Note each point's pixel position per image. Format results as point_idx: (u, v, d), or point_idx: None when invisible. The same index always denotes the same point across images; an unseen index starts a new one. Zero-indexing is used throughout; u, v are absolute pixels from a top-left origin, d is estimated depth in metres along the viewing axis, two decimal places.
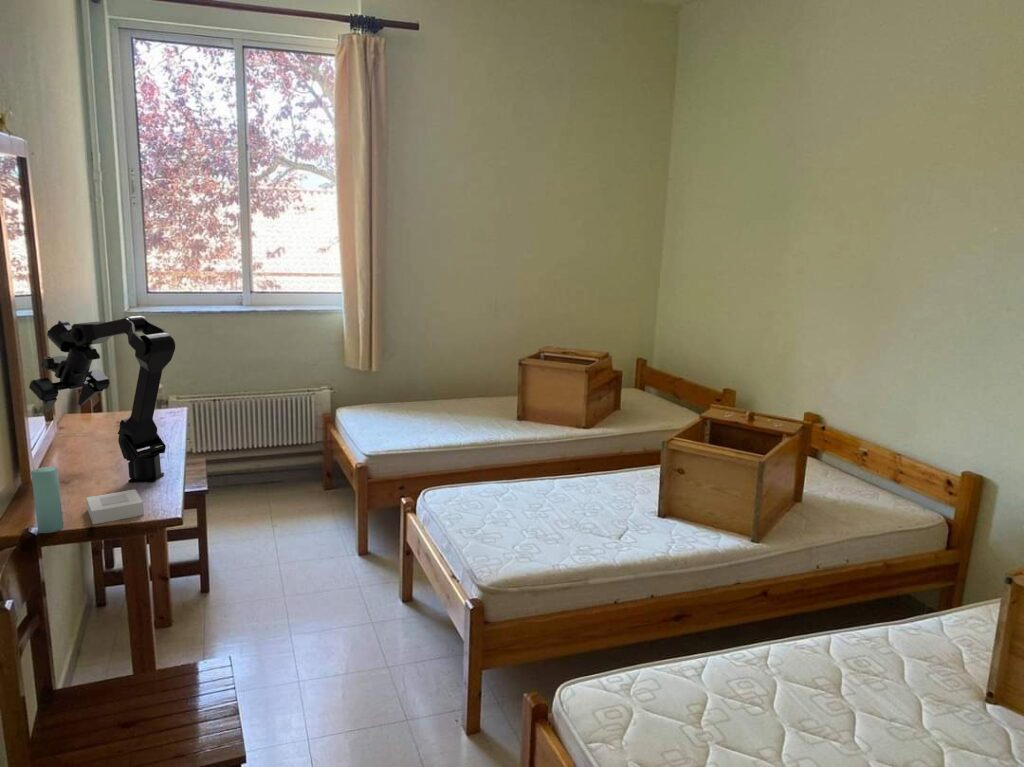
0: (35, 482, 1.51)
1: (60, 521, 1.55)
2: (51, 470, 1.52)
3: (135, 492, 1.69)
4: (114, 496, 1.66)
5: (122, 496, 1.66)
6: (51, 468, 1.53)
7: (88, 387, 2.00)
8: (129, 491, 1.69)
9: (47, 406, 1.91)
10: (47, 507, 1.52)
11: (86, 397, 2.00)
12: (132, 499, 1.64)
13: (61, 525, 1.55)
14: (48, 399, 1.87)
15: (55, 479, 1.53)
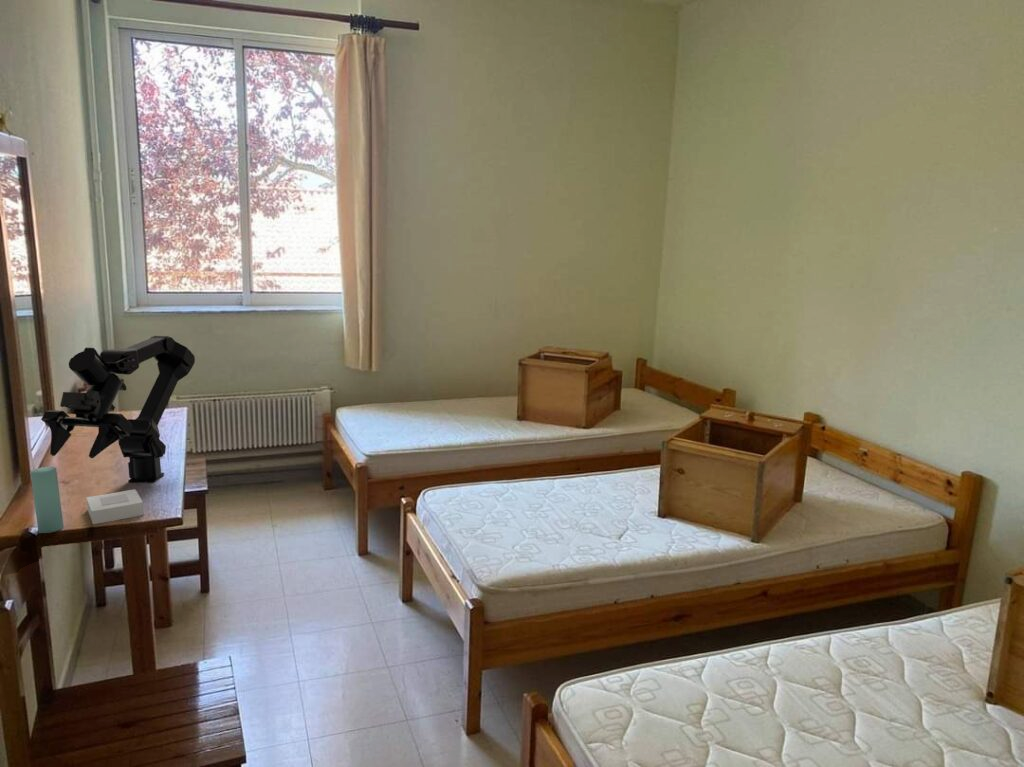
0: (34, 482, 1.51)
1: (60, 521, 1.55)
2: (50, 470, 1.52)
3: (135, 492, 1.69)
4: (114, 496, 1.66)
5: (122, 496, 1.66)
6: (51, 468, 1.53)
7: (64, 430, 1.65)
8: (129, 491, 1.69)
9: (103, 448, 1.62)
10: (46, 507, 1.52)
11: (63, 443, 1.64)
12: (132, 499, 1.64)
13: (61, 525, 1.55)
14: None
15: (54, 479, 1.53)
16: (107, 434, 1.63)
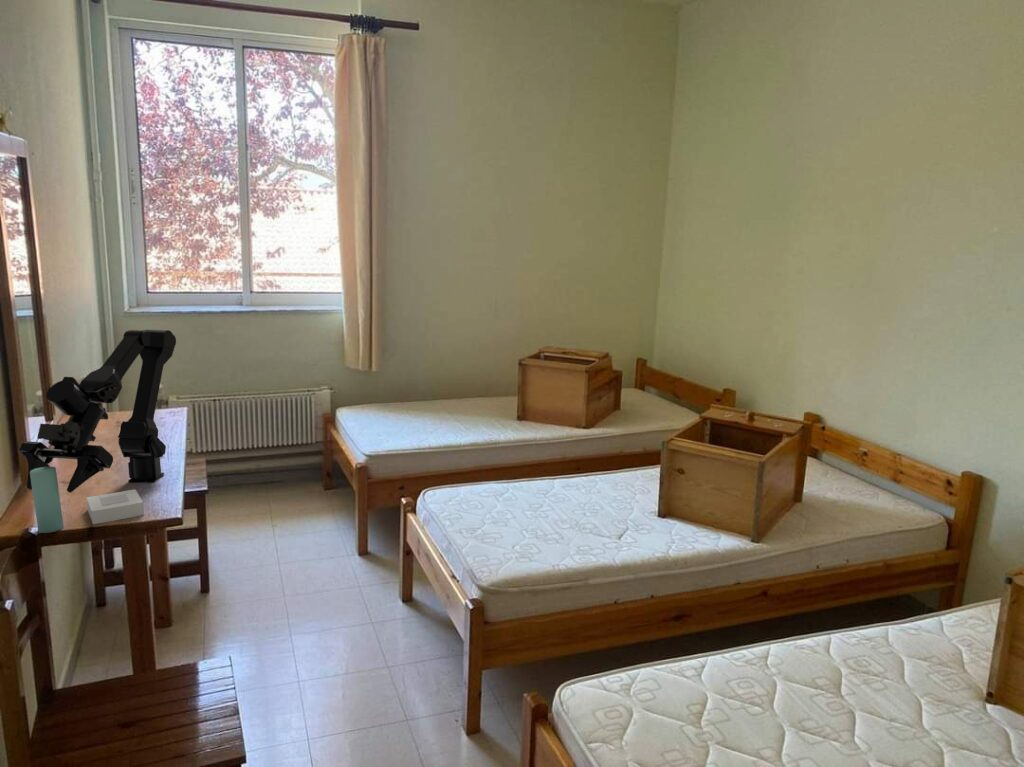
0: (34, 482, 1.51)
1: (60, 521, 1.55)
2: (50, 470, 1.52)
3: (135, 492, 1.69)
4: (114, 496, 1.66)
5: (122, 496, 1.66)
6: (50, 468, 1.53)
7: (42, 462, 1.58)
8: (129, 491, 1.69)
9: (82, 481, 1.56)
10: (46, 507, 1.52)
11: None
12: (132, 499, 1.64)
13: (61, 525, 1.55)
14: None
15: (54, 478, 1.53)
16: (86, 467, 1.57)
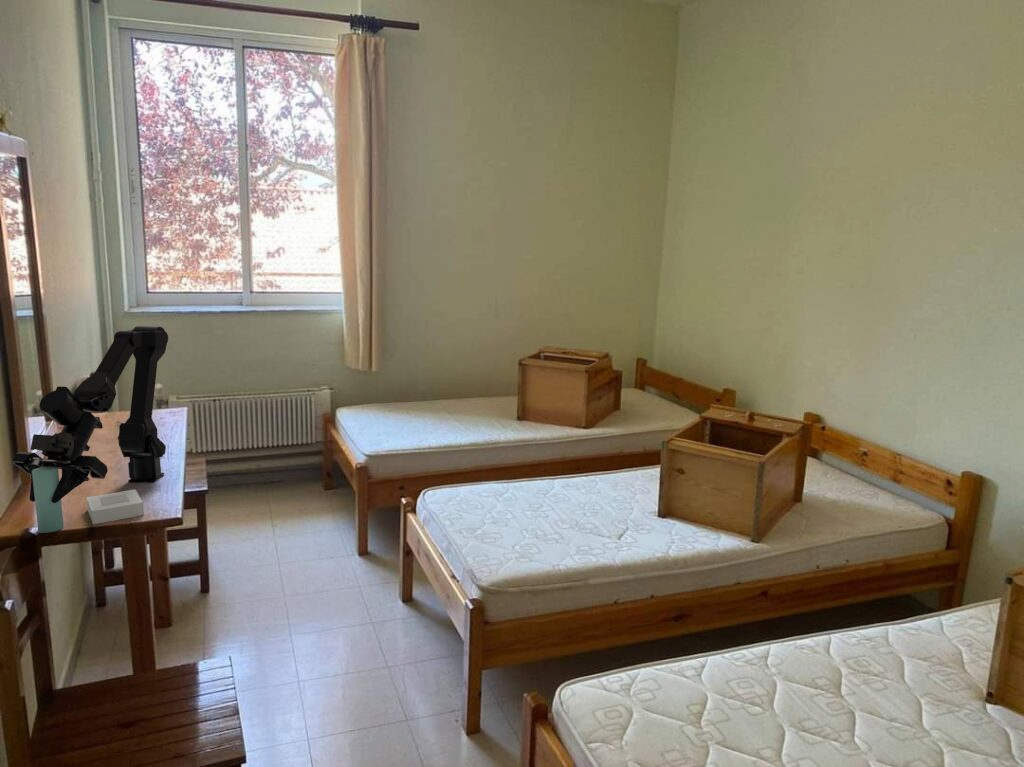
0: (36, 481, 1.51)
1: (60, 521, 1.55)
2: (52, 469, 1.53)
3: (135, 492, 1.69)
4: (114, 496, 1.66)
5: (122, 496, 1.66)
6: (52, 468, 1.54)
7: None
8: (129, 491, 1.69)
9: (67, 492, 1.54)
10: (47, 506, 1.52)
11: None
12: (132, 499, 1.64)
13: (61, 525, 1.55)
14: None
15: (56, 478, 1.53)
16: (71, 477, 1.55)
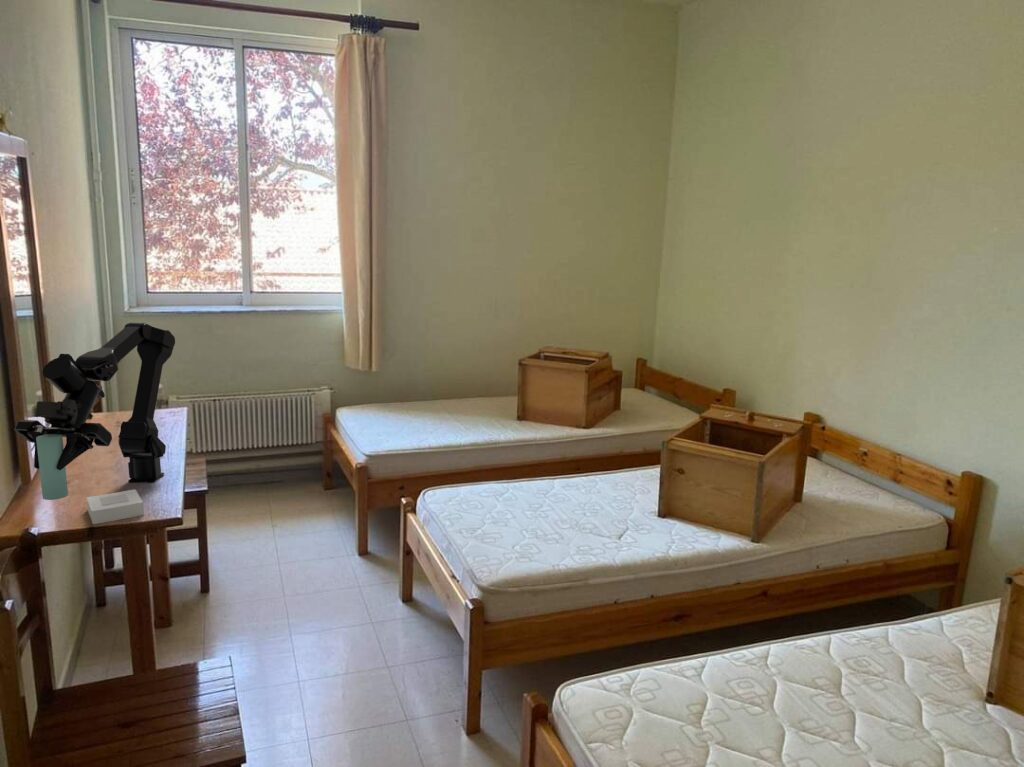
0: (41, 448, 1.50)
1: (65, 488, 1.54)
2: (56, 436, 1.52)
3: (135, 492, 1.69)
4: (114, 496, 1.66)
5: (122, 496, 1.66)
6: (56, 435, 1.53)
7: None
8: (129, 491, 1.69)
9: (72, 459, 1.54)
10: (52, 473, 1.52)
11: None
12: (132, 499, 1.64)
13: (66, 492, 1.55)
14: None
15: (60, 445, 1.52)
16: (76, 444, 1.55)
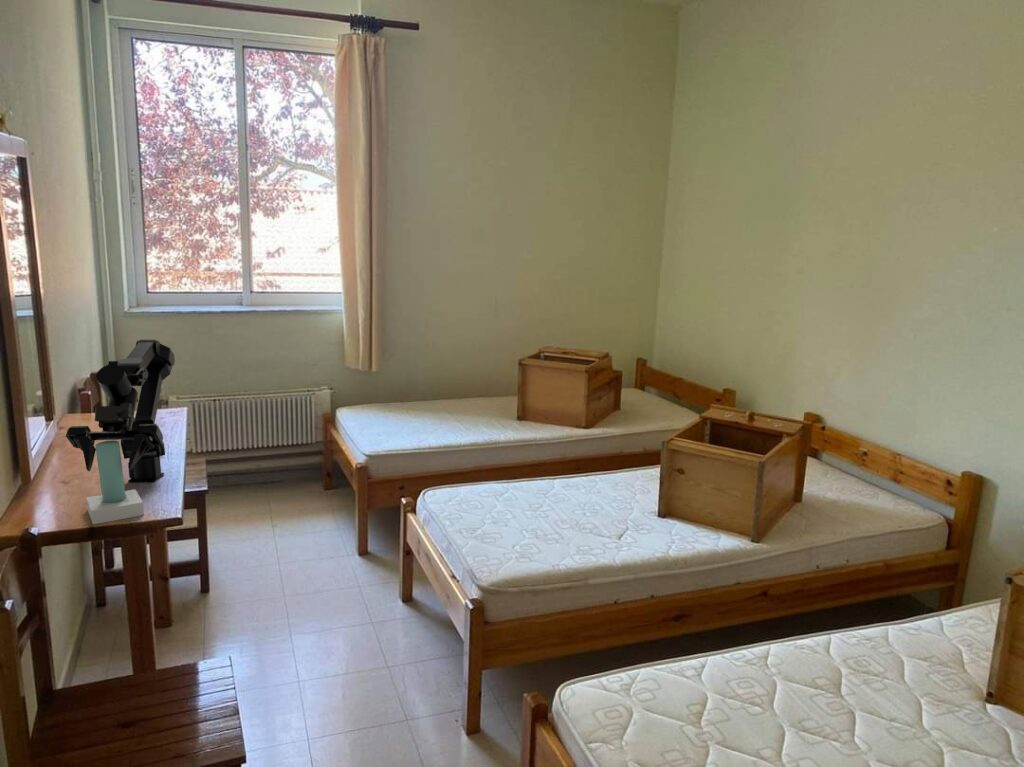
0: (103, 455, 1.59)
1: (124, 491, 1.64)
2: (115, 443, 1.61)
3: (135, 492, 1.69)
4: None
5: None
6: (113, 441, 1.62)
7: (92, 445, 1.64)
8: (129, 491, 1.69)
9: (138, 459, 1.64)
10: (115, 477, 1.61)
11: (93, 458, 1.63)
12: (132, 499, 1.64)
13: (125, 494, 1.64)
14: None
15: (119, 451, 1.62)
16: None
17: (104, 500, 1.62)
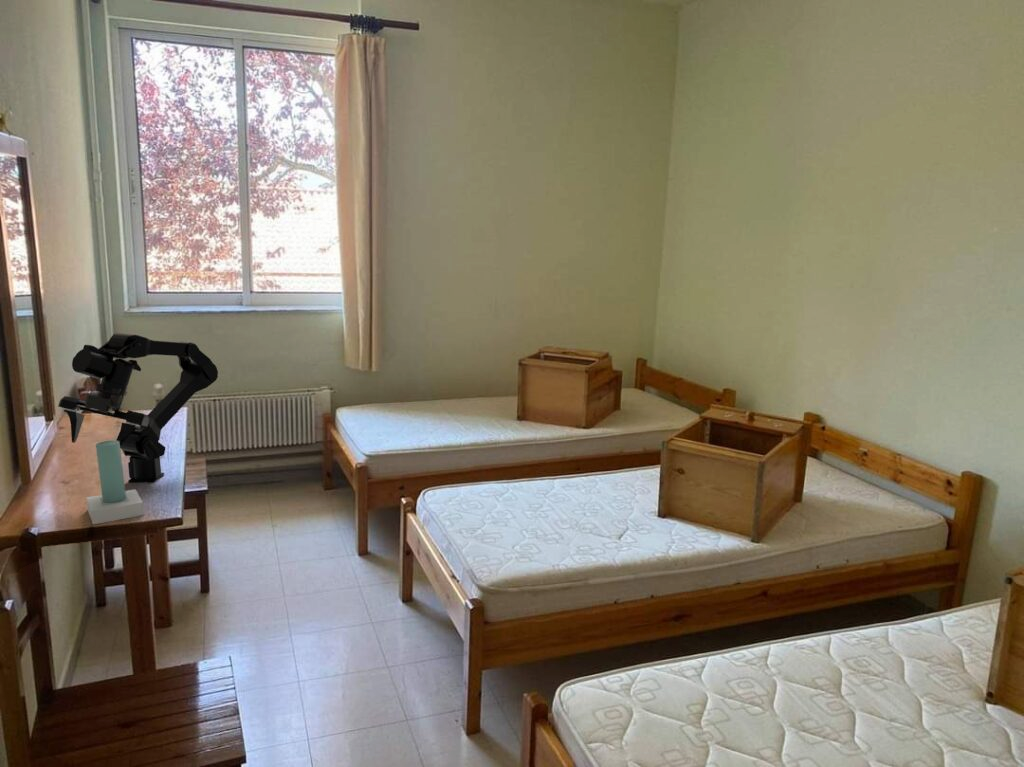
0: (103, 455, 1.59)
1: (124, 491, 1.64)
2: (115, 442, 1.62)
3: (135, 492, 1.69)
4: None
5: None
6: (113, 441, 1.62)
7: (80, 415, 1.74)
8: (129, 491, 1.69)
9: (124, 440, 1.76)
10: (115, 477, 1.61)
11: None
12: (132, 499, 1.64)
13: (125, 494, 1.64)
14: None
15: None
16: None
17: (104, 500, 1.62)
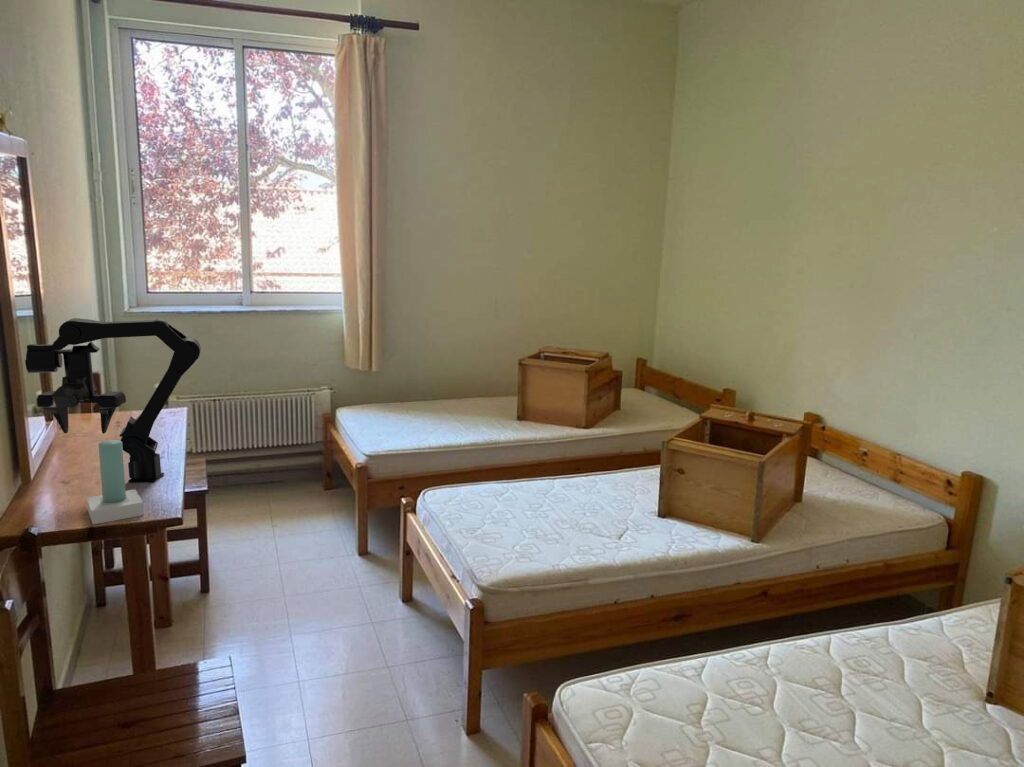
0: (106, 454, 1.60)
1: (125, 491, 1.64)
2: (118, 442, 1.62)
3: (135, 492, 1.69)
4: None
5: None
6: (116, 441, 1.63)
7: (62, 407, 1.79)
8: (129, 491, 1.69)
9: (109, 420, 1.81)
10: (116, 477, 1.61)
11: (67, 417, 1.81)
12: (132, 499, 1.64)
13: (125, 494, 1.65)
14: None
15: (122, 450, 1.62)
16: None
17: (104, 500, 1.62)
